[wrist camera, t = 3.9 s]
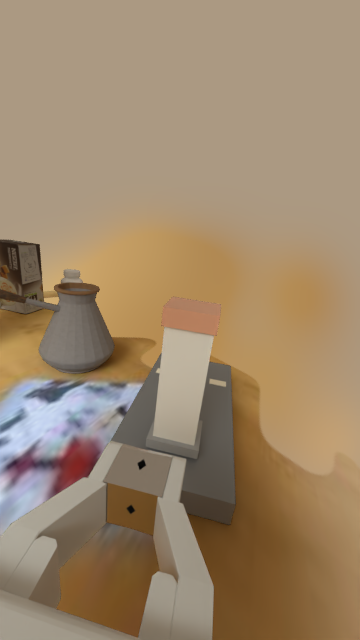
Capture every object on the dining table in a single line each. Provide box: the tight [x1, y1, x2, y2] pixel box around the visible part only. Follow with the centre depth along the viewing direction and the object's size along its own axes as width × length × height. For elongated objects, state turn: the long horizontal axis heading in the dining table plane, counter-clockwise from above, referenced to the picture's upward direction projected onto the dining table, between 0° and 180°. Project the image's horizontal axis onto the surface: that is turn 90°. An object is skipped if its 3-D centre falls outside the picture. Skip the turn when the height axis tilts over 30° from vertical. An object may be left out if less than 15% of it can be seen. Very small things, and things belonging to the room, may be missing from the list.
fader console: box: [111, 353, 236, 525], centre depth 31 cm, size 12×23×3 cm, turn 170°
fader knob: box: [146, 297, 221, 459], centre depth 23 cm, size 5×4×14 cm
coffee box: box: [0, 240, 44, 314], centre depth 59 cm, size 9×6×16 cm
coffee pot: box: [0, 282, 114, 373], centre depth 36 cm, size 21×12×15 cm, turn 135°
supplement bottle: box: [61, 269, 83, 283], centre depth 66 cm, size 5×5×10 cm
